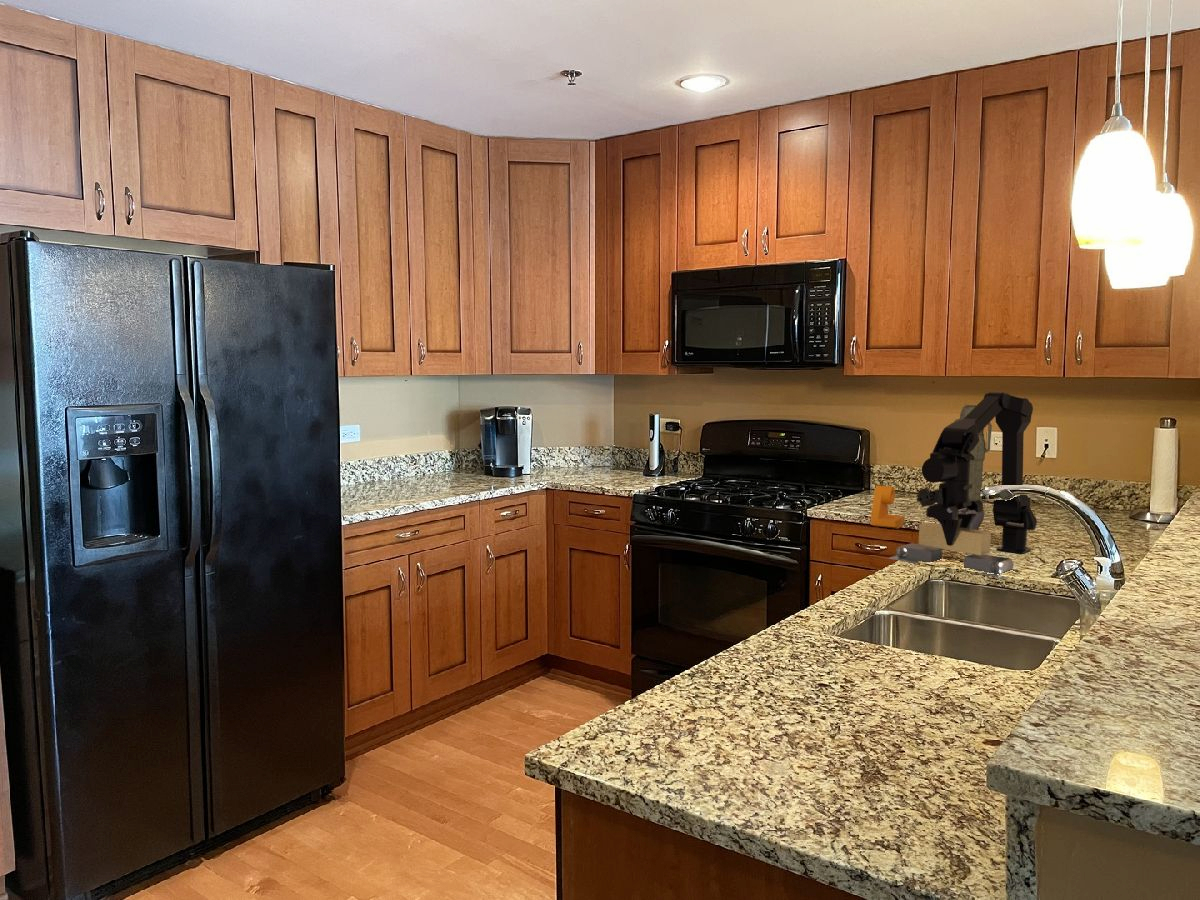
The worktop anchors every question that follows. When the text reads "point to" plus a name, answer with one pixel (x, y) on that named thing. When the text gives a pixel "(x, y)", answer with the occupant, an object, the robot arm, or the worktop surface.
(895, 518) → the bracket
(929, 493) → the robot arm
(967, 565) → the pair of grey blocks
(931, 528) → the tan wooden block
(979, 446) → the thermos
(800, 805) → the worktop surface
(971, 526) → the bluetooth speaker
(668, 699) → the worktop surface
